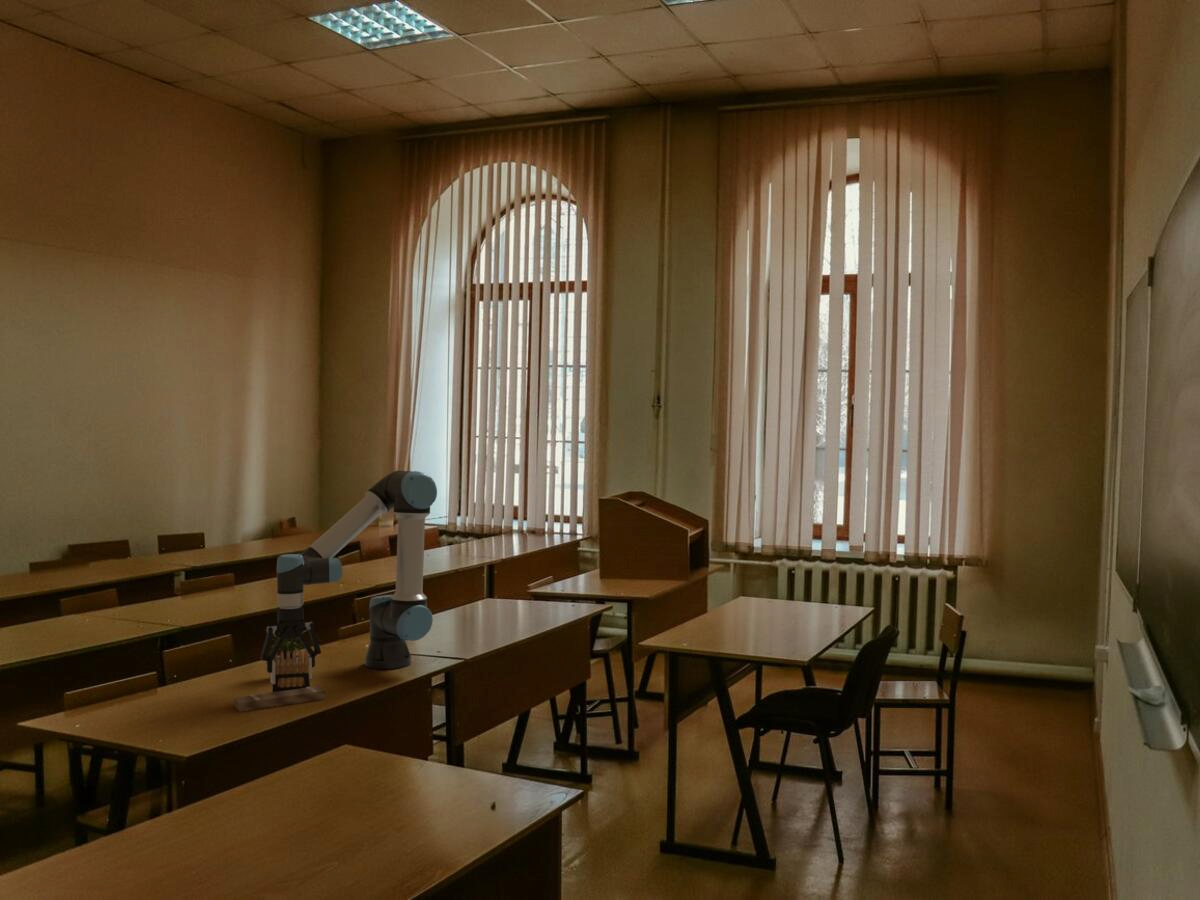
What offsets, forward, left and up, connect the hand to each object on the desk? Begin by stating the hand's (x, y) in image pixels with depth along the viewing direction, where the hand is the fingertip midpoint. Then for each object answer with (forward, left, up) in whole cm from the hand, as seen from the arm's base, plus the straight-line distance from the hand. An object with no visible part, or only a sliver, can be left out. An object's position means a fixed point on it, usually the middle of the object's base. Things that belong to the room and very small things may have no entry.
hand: (291, 680), depth 306 cm
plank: (+6, +10, -3) cm, 12 cm away
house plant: (-3, -21, -4) cm, 21 cm away
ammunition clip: (0, 0, -3) cm, 3 cm away
